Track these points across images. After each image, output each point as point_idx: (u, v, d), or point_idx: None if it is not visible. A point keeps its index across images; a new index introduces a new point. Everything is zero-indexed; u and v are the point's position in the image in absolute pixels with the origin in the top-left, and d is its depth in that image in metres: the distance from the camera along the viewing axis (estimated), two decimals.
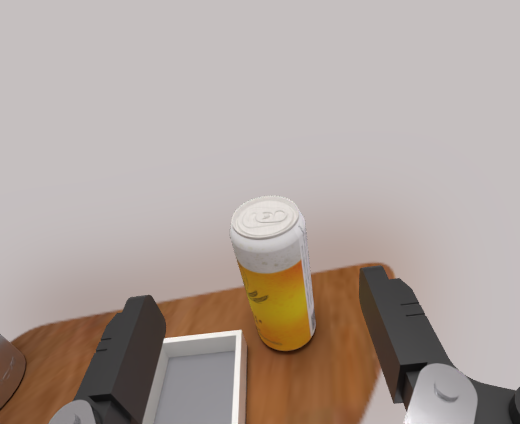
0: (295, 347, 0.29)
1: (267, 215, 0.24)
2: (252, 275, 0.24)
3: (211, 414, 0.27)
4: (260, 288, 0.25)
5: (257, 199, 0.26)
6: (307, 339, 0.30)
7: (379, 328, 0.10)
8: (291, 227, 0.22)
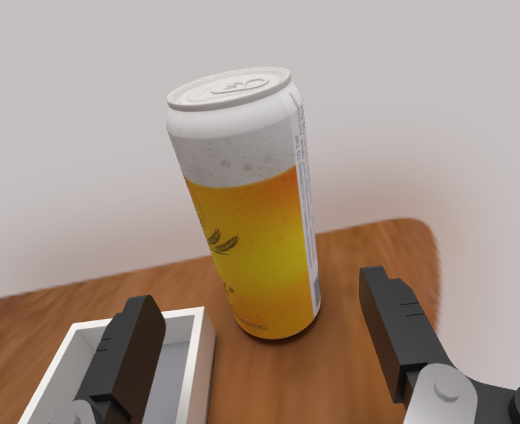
0: (289, 333, 0.19)
1: (233, 84, 0.13)
2: (207, 196, 0.13)
3: None
4: (223, 222, 0.14)
5: (220, 75, 0.15)
6: (308, 320, 0.19)
7: (379, 328, 0.10)
8: (275, 89, 0.12)
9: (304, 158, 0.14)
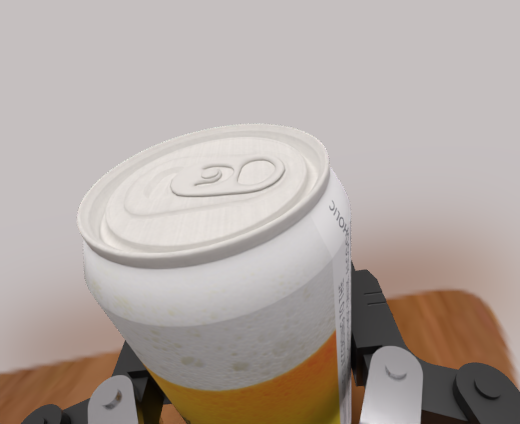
0: None
1: (213, 172, 0.07)
2: (163, 385, 0.07)
3: None
4: (197, 420, 0.07)
5: (196, 135, 0.09)
6: None
7: None
8: (303, 211, 0.05)
9: (348, 302, 0.07)
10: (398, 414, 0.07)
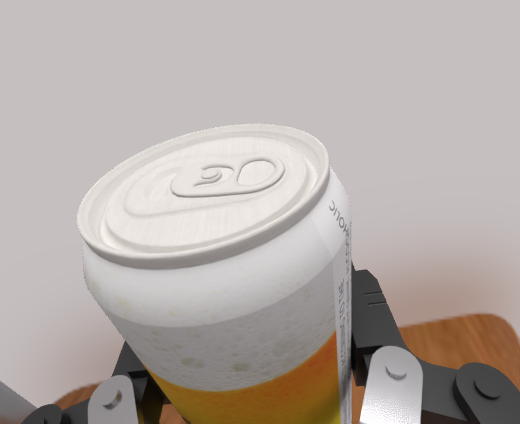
0: None
1: (213, 173, 0.07)
2: (163, 386, 0.07)
3: None
4: (197, 420, 0.07)
5: (196, 136, 0.09)
6: None
7: None
8: (303, 211, 0.05)
9: (349, 303, 0.07)
10: (398, 413, 0.07)
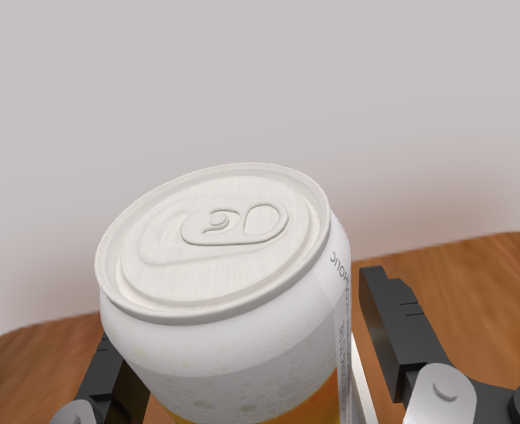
0: None
1: (221, 219, 0.07)
2: (174, 418, 0.07)
3: None
4: None
5: (203, 173, 0.09)
6: None
7: (378, 328, 0.10)
8: (306, 268, 0.05)
9: (349, 337, 0.08)
10: None
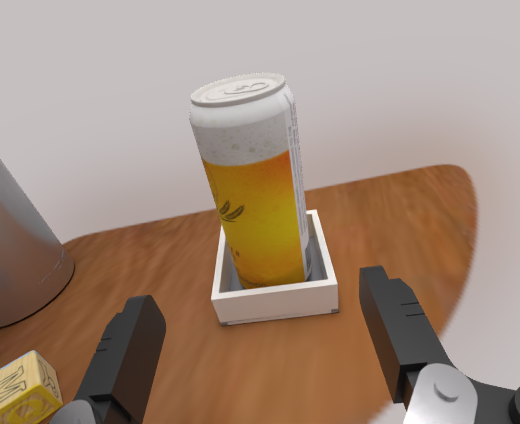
0: None
1: (241, 87, 0.17)
2: (220, 173, 0.17)
3: None
4: (232, 194, 0.18)
5: (230, 79, 0.19)
6: (300, 281, 0.23)
7: (379, 328, 0.10)
8: (273, 91, 0.15)
9: (296, 144, 0.18)
10: None
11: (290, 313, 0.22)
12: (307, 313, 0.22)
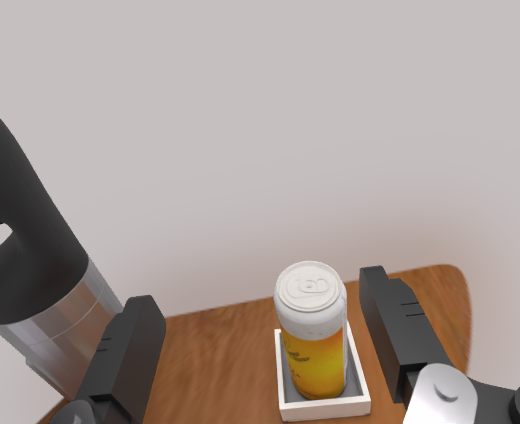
0: (330, 398, 0.31)
1: (310, 284, 0.25)
2: (296, 340, 0.26)
3: None
4: (302, 351, 0.26)
5: (297, 264, 0.27)
6: (341, 390, 0.31)
7: (379, 328, 0.10)
8: (336, 300, 0.24)
9: (346, 318, 0.26)
10: None
11: (334, 415, 0.30)
12: (347, 415, 0.31)
